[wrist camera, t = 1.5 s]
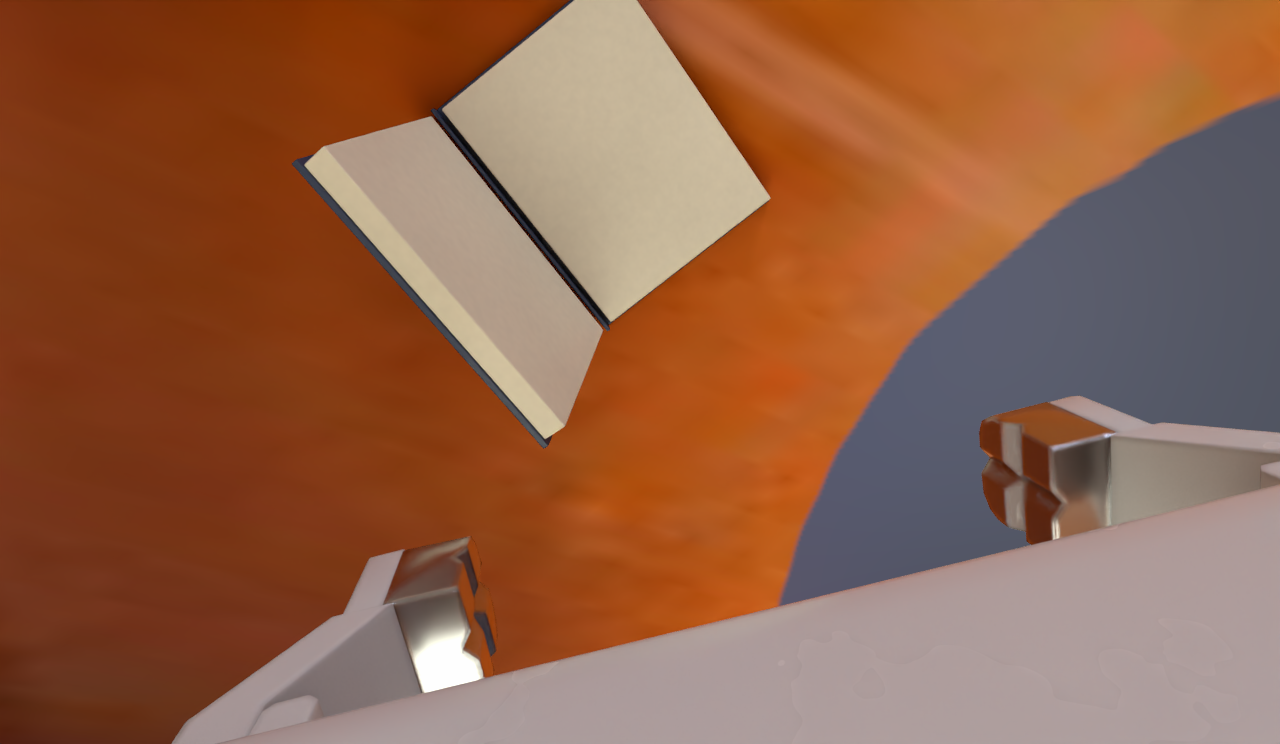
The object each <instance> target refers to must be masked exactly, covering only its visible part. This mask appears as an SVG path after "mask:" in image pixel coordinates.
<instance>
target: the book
mask: <svg viewBox="0 0 1280 744" xmlns="http://www.w3.org/2000/svg"><path fill="white" fill-rule="evenodd" d="M431 112H432V113H433V114H434V115H435V117H436V118H437V119H438V120H439V122H440V123H441V124H442V125H443V127H444V128H445V129H446V130H447V132H448V133H449V134H450V135H451V137H452V138H453V139H454V140H455V142H456V143H457V144H458V145H459V147H460V148H461V149H462V150H463V152H464V153H465V154H466V155H467V157H468V158H469V159H470V160H471V162H472V163H473V164H474V165H475V167H476V168H477V169H478V170H479V172H480V173H481V174H482V175H483V177H484V178H485V179H486V180H487V182H488V183H489V184H490V185H491V187H492V188H493V189H494V190H495V192H496V193H497V194H498V195H499V197H500V198H501V199H502V200H503V202H504V203H505V204H506V205H507V207H508V208H509V209H510V210H511V211H512V213H513V214H514V215H515V216H516V218H517V219H518V220H519V221H520V223H521V224H522V225H523V226H524V228H525V229H526V230H527V231H528V233H529V234H530V235H531V236H532V238H533V239H534V240H535V241H536V243H537V244H538V245H539V246H540V248H541V249H542V250H543V251H544V253H545V254H546V255H547V256H548V258H549V259H550V260H551V261H552V263H553V264H554V265H555V266H556V268H557V269H558V270H559V271H560V273H561V274H562V275H563V276H564V278H565V279H566V280H567V281H568V283H569V284H570V285H571V286H572V288H573V289H574V290H575V291H576V293H577V294H578V295H579V296H580V298H581V299H582V300H583V301H584V303H585V304H586V305H587V306H588V308H589V309H590V310H591V311H592V313H593V314H594V315H595V316H596V318H597V319H598V320H599V321H600V323H601V324H602V325H603V326H604V328H605V329H606V330H607V331H609V330H610V328H609V324H610V323H612V322H613V321H614V320H616V319H617V318H618V317H620V316H621V315H622V314H623V313H625V312H626V311H627V310H629V309H630V308H631V307H632V306H634V305H635V304H636V303H638V302H639V301H640V300H641V299H643V298H644V297H645V296H647V295H648V294H649V293H650V292H652V291H653V290H654V289H656V288H657V287H658V286H660V285H661V284H662V283H663V282H665V281H666V280H667V279H669V278H670V277H671V276H672V275H674V274H675V273H676V272H678V271H679V270H680V269H681V268H683V267H684V266H685V265H687V264H688V263H689V262H690V261H692V260H693V259H694V258H696V257H697V256H698V255H700V254H701V253H702V252H703V251H705V250H706V249H707V248H709V247H710V246H711V245H712V244H714V243H715V242H716V241H718V240H719V239H720V238H721V237H723V236H724V235H725V234H727V233H728V232H729V231H730V230H732V229H733V228H734V227H736V226H737V225H738V224H740V223H741V222H742V221H743V220H745V219H746V218H747V217H749V216H750V215H751V214H752V213H754V212H755V211H756V210H758V209H759V208H760V207H761V206H763V205H764V204H765V203H767V202H768V201H769V199H770V196H769V195H768V193H767V192H766V190H765V189H764V187H763V186H762V184H761V183H760V181H759V180H758V178H757V177H756V175H755V174H754V172H753V171H752V169H751V168H750V167H749V165H748V164H747V162H746V161H745V159H744V158H743V156H742V155H741V153H740V152H739V150H738V149H737V147H736V146H735V144H734V143H733V141H732V140H731V138H730V137H729V135H728V134H727V133H726V131H725V130H724V128H723V127H722V125H721V124H720V122H719V121H718V119H717V118H716V116H715V115H714V113H713V112H712V110H711V109H710V107H709V106H708V104H707V103H706V101H705V100H704V99H703V97H702V96H701V94H700V93H699V91H698V90H697V88H696V87H695V85H694V84H693V82H692V81H691V79H690V78H689V76H688V75H687V73H686V72H685V70H684V69H683V68H682V66H681V65H680V63H679V62H678V60H677V59H676V57H675V56H674V54H673V53H672V51H671V50H670V48H669V47H668V45H667V44H666V42H665V41H664V39H663V38H662V36H661V35H660V34H659V32H658V31H657V29H656V28H655V26H654V25H653V23H652V22H651V20H650V19H649V17H648V16H647V14H646V13H645V11H644V10H643V8H642V7H641V5H640V4H639V2H638V1H637V0H570V1H569V2H568V3H566V4H565V5H564V6H563V7H562V8H560V9H559V10H558V11H557V12H555V13H554V14H553V15H552V16H551V17H549V18H548V19H547V20H546V21H545V22H543V23H542V24H541V25H540V26H538V27H537V28H536V29H535V30H534V31H532V32H531V33H530V34H529V35H528V36H526V37H525V38H524V39H523V40H521V41H520V42H519V43H518V44H517V45H515V46H514V47H513V48H512V49H511V50H509V51H508V52H507V53H506V54H504V55H503V56H502V57H501V58H500V59H498V60H497V61H496V62H495V63H493V64H492V65H491V66H490V67H489V68H487V69H486V70H485V71H484V72H483V73H481V74H480V75H479V76H478V77H476V78H475V79H474V80H473V81H472V82H470V83H469V84H468V85H467V86H466V87H464V88H463V89H462V90H461V91H459V92H458V93H457V94H456V95H455V96H453V97H452V98H451V99H450V100H448V101H447V102H446V103H445V104H444V105H442V106H441V107H440V108H439V109H438V110H436V109H434V108H433V109H432V110H431Z"/></svg>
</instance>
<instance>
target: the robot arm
mask: <svg viewBox="0 0 1280 744" xmlns="http://www.w3.org/2000/svg"><path fill="white" fill-rule="evenodd" d="M979 435H980V447H981V449H982V450H983V451H984V452H985V453H986V454H987V455H988V456H989V457H990V459H989V461H988V463H987V464H986V466H985V468H984V470H983V472H982V481H983V490H984V494H985V497H986V499H987V502H988V505H989V507H990V509H991V510H992V512H993V513H994V514H995V516H996V517H997V518H998V520H1000V521H1001V522H1002V523H1003V524H1005V525H1006V526H1007V527H1010V528H1013V529H1017V530H1021V531H1025V532H1026V539H1027V542H1028V543H1030V544H1031V545H1030V546H1025V547H1022V548H1017V549H1013V550H1010V551H1006V552H1001V553H997V554H993V555H989V556H984V557H980V558H976V559H973V560H968V561H964V562H960V563H956V564H952V565H947V566H943V567H939V568H935V569H931V570H927V571H923V572H919V573H915V574H911V575H906V576H903V577H898V578H894V579H890V580H886V581H882V582H878V583H874V584H869V585H865V586H861V587H857V588H853V589H849V590H845V591H841V592H837V593H832V594H828V595H824V596H820V597H816V598H812V599H808V600H804V601H800V602H795V603H792V604H788V605H783V606H779V607H775V608H771V609H767V610H763V611H758V612H754V613H750V614H746V615H742V616H738V617H734V618H730V619H726V620H721V621H717V622H713V623H709V624H705V625H701V626H697V627H693V628H689V629H684V630H680V631H676V632H672V633H668V634H664V635H660V636H656V637H652V638H648V639H643V640H639V641H635V642H631V643H627V644H623V645H619V646H615V647H611V648H606V649H602V650H598V651H594V652H590V653H586V654H582V655H578V656H574V657H569V658H565V659H561V660H557V661H553V662H549V663H545V664H541V665H537V666H532V667H528V668H524V669H520V670H516V671H512V672H508V673H504V674H500V675H496V676H494V667H493V664H492V660H491V656H492V655H493V654H494V653H495V652H496V650H497V626H496V617H495V612H494V607H493V602H492V598H491V595H490V591H489V588H487V587H486V586H485V585H483V584H482V583H481V582H479V578H480V571H481V565H482V562H481V559H480V556H479V552H478V549H477V546H476V543H475V541H474V539H473V538H472V536H469V537H465V538H460V539H455V540H451V541H446V542H441V543H436V544H432V545H427V546H422V547H418V548H413V549H408V550H404V549H403V550H399V551H395V552H391V553H387V554H384V555H380V556H376V557H372V558H369V560H368V562H367V564H366V566H365V568H364V570H363V572H362V575H361V577H360V579H359V581H358V583H357V585H356V587H355V590H354V592H353V594H352V596H351V598H350V600H349V602H348V604H347V607H346V609H345V611H344V613H343V614H342V615H338V616H334V617H331V618H330V619H329V620H327V621H326V622H325V623H323V624H322V625H320V626H319V627H318V628H316V629H315V630H313V631H312V632H311V633H309V634H308V635H306V636H305V637H304V638H302V639H301V640H299V641H298V642H297V643H295V644H294V645H293V646H291V647H290V648H288V649H287V650H286V651H284V652H283V653H281V654H280V655H279V656H277V657H276V658H274V659H273V660H272V661H270V662H269V663H267V664H266V665H265V666H263V667H262V668H260V669H259V670H258V671H256V672H255V673H254V674H252V675H251V676H249V677H248V678H247V679H245V680H244V681H242V682H241V683H240V684H238V685H237V686H235V687H234V688H233V689H231V690H230V691H228V692H227V693H226V694H224V695H223V696H222V697H220V698H219V699H217V700H216V701H215V702H213V703H212V704H210V705H209V706H208V707H206V708H205V709H203V710H202V711H201V712H199V713H198V714H196V715H195V716H194V717H192V718H191V719H190V720H188V721H187V722H185V724H184V725H183V727H182V728H181V730H180V732H179V733H178V735H177V736H176V738H175V739H174V741H173V742H172V744H1280V433H1276V432H1264V431H1252V430H1241V429H1230V428H1217V427H1207V426H1195V425H1184V424H1172V423H1158V424H1154V425H1152V424H1149V423H1147V422H1144V421H1142V420H1139V419H1137V418H1134V417H1132V416H1129V415H1127V414H1124V413H1122V412H1119V411H1117V410H1114V409H1112V408H1109V407H1107V406H1104V405H1102V404H1099V403H1097V402H1094V401H1092V400H1089V399H1087V398H1084V397H1082V396H1072V397H1067V398H1063V399H1060V400H1057V401H1053V402H1049V403H1048V402H1045V403H1041V404H1037V405H1034V406H1029V407H1025V408H1021V409H1018V410H1014V411H1010V412H1006V413H1002V414H998V415H994V416H990V417H988V418H987V419H985V420H983V421H982V423H981V427H980V432H979Z"/></svg>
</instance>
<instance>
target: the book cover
mask: <svg viewBox="0 0 1280 744" xmlns="http://www.w3.org/2000/svg"><path fill="white" fill-rule="evenodd" d="M292 165H293V166H294V167H295V168H296V169H297V170H298V171H299V172H300V174H301V175H302V176H303V177H304V178H305V179H306V180H307V182H308V183H309V184H310V185H311V186H312V187H313V188H314V189H315V191H316V192H317V193H318V194H319V195H320V196H321V197H322V198H323V200H324V201H325V202H326V203H327V204H328V205H329V206H330V208H331V209H332V210H333V211H334V212H335V213H336V214H337V215H338V217H339V218H340V219H341V220H342V221H343V222H344V223H345V225H346V226H347V227H348V228H349V229H350V230H351V231H352V232H353V234H354V235H355V236H356V237H357V238H358V239H359V240H360V241H361V243H362V244H363V245H364V246H365V247H366V248H367V249H368V251H369V252H370V253H371V254H372V255H373V256H374V257H375V258H376V260H377V261H378V262H379V263H380V264H381V265H382V266H383V267H384V269H385V270H386V271H387V272H388V273H389V274H390V275H391V277H392V278H393V279H394V280H395V281H396V282H397V283H398V284H399V286H400V287H401V288H402V289H403V290H404V291H405V292H406V294H407V295H408V296H409V297H410V298H411V299H412V300H413V301H414V303H415V304H416V305H417V306H418V307H419V308H420V309H421V310H422V312H423V313H424V314H425V315H426V316H427V317H428V318H429V320H430V321H431V322H432V323H433V324H434V325H435V326H436V327H437V329H438V330H439V331H440V332H441V333H442V334H443V335H444V336H445V338H446V339H447V340H448V341H449V342H450V343H451V344H452V346H453V347H454V348H455V349H456V350H457V351H458V352H459V353H460V355H461V356H462V357H463V358H464V359H465V360H466V361H467V363H468V364H469V365H470V366H471V367H472V368H473V369H474V370H475V372H476V373H477V374H478V375H479V376H480V377H481V378H482V379H483V381H484V382H485V383H486V384H487V385H488V386H489V387H490V389H491V390H492V391H493V392H494V393H495V394H496V395H497V396H498V398H499V399H500V400H501V401H502V402H503V403H504V404H505V405H506V407H507V408H508V409H509V410H510V411H511V412H512V413H513V415H514V416H515V417H516V418H517V419H518V420H519V421H520V422H521V424H522V425H523V426H524V427H525V428H526V429H527V430H528V432H529V433H530V434H531V435H532V436H533V437H534V438H535V439H536V441H537V442H538V443H539V444H540V445H541V446H542V447H543V448H546V447H547V446H548V445H549V443H550V440H551V438H552V435H553V434H554V433H556V432H557V431H559V430H560V429H562V428H563V427H565V425H566V423H567V420H568V417H569V415H570V412H571V410H572V407H573V405H574V402H575V400H576V397H577V395H578V392H579V390H580V387H581V385H582V382H583V380H584V377H585V375H586V372H587V370H588V367H589V365H590V362H591V360H592V357H593V354H594V352H595V349H596V347H597V344H598V342H599V339H600V337H601V334H602V332H603V329H602V328H601V327H600V325H599V324H598V323H597V322H596V320H595V319H594V318H593V317H592V316H591V314H590V313H589V312H588V311H587V309H586V308H585V307H584V306H583V304H582V303H581V302H580V301H579V299H578V298H577V297H576V296H575V294H574V293H573V292H572V291H571V289H570V288H569V287H568V286H567V284H566V283H565V282H564V281H563V279H562V278H561V277H560V276H559V274H558V273H557V272H556V271H555V269H554V268H553V267H552V266H551V264H550V263H549V262H548V261H547V259H546V258H545V257H544V256H543V254H542V253H541V252H540V251H539V250H538V248H537V247H536V246H535V245H534V243H533V242H532V241H531V240H530V238H529V237H528V236H527V235H526V233H525V232H524V231H523V230H522V228H521V227H520V226H519V225H518V223H517V222H516V221H515V220H514V218H513V217H512V216H511V215H510V213H509V212H508V211H507V210H506V208H505V207H504V206H503V205H502V203H501V202H500V201H499V200H498V198H497V197H496V196H495V195H494V193H493V192H492V191H491V190H490V189H489V187H488V186H487V185H486V184H485V182H484V181H483V180H482V179H481V177H480V176H479V175H478V174H477V172H476V171H475V170H474V169H473V167H472V166H471V165H470V164H469V162H468V161H467V160H466V159H465V157H464V156H463V155H462V154H461V152H460V151H459V150H458V149H457V147H456V146H455V145H454V144H453V142H452V141H451V140H450V139H449V137H448V136H447V135H446V134H445V132H444V131H443V130H442V129H441V128H440V126H439V125H438V124H437V123H436V121H435V120H434V119H433V118H432V117H427V118H424V119H420V120H416V121H413V122H409V123H406V124H402V125H399V126H395V127H391V128H388V129H384V130H381V131H377V132H374V133H370V134H367V135H363V136H359V137H356V138H352V139H349V140H345V141H342V142H338V143H335V144H331V145H327V146H324V147H322V148H321V149H320V150H319V151H318V152H317V153H316V154H314V155H310V156H307V157H304V158H300V159H297V160H295V161H294V162H293V163H292Z"/></svg>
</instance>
